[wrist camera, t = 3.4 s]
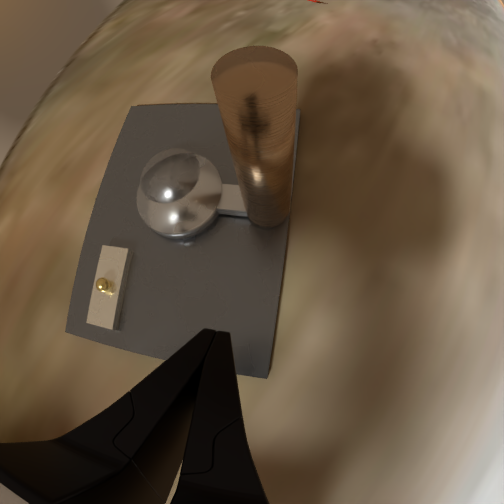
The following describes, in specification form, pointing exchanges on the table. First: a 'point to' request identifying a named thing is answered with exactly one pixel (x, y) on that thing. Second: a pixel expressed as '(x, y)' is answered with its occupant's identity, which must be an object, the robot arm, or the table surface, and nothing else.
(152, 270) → the stand plate
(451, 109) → the table surface
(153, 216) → the brown cylinder with ball
